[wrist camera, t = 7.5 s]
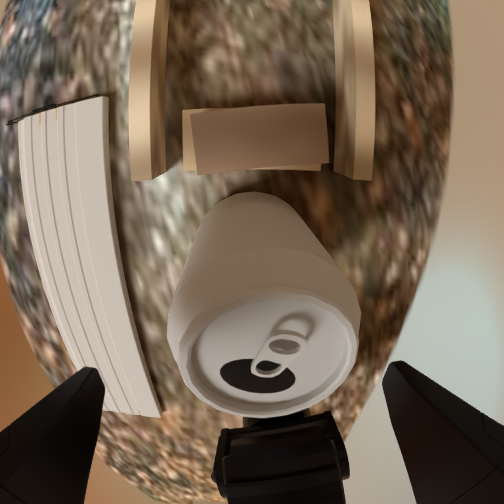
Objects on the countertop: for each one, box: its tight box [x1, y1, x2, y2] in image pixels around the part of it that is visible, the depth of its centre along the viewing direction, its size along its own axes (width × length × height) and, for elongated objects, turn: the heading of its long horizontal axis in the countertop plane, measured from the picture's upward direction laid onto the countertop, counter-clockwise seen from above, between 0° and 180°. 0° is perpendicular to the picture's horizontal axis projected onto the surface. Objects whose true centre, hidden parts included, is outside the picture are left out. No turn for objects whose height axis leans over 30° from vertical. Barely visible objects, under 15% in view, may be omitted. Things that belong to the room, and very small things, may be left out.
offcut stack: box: [182, 103, 329, 175], centre depth 15 cm, size 4×8×4 cm, turn 90°
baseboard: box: [6, 94, 162, 418], centre depth 20 cm, size 30×3×10 cm
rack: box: [129, 0, 375, 181], centre depth 13 cm, size 15×13×4 cm
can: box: [167, 191, 361, 418], centre depth 14 cm, size 8×8×12 cm
